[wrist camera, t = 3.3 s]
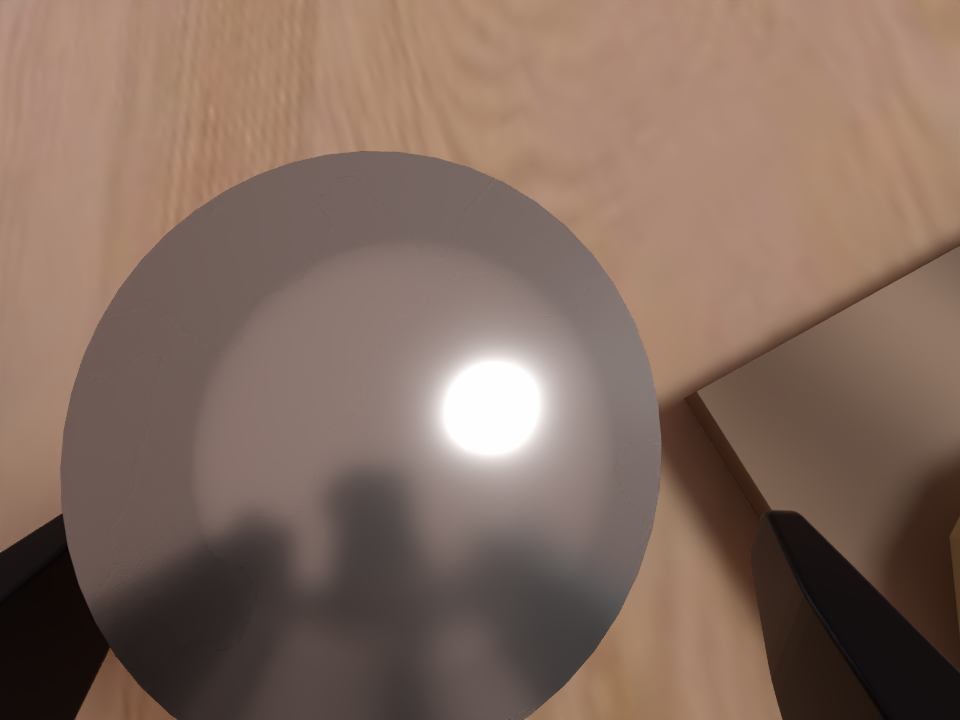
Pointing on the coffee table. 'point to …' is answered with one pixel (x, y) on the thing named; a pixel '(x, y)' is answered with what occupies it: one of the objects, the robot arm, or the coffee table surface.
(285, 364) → the silver metal cylinder
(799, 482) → the ring seat
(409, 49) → the coffee table surface
